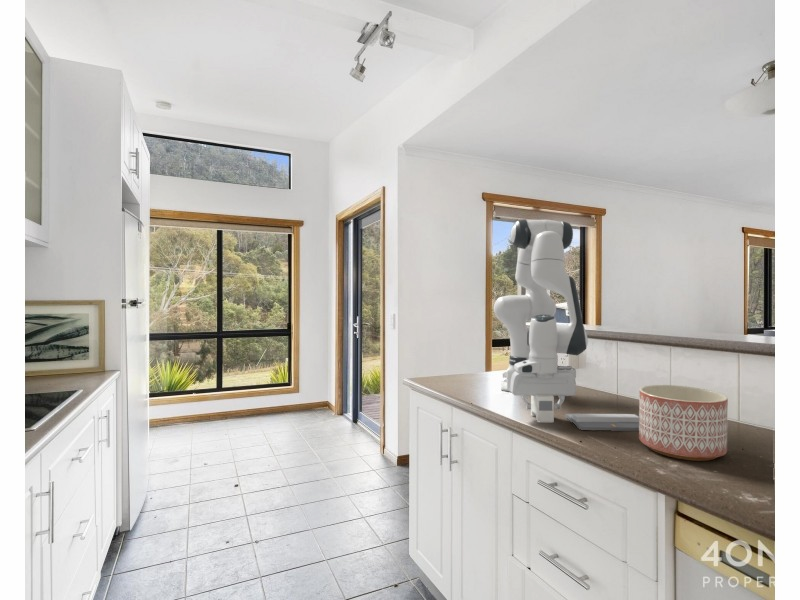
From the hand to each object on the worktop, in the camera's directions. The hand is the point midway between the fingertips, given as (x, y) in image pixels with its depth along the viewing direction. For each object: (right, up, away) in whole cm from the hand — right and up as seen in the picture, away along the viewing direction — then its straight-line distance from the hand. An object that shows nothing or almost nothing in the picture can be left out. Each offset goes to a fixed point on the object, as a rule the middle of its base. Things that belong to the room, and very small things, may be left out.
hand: (543, 409), depth 144 cm
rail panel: (+18, -3, -5) cm, 19 cm away
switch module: (0, -3, 0) cm, 3 cm away
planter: (+27, -4, -28) cm, 39 cm away
